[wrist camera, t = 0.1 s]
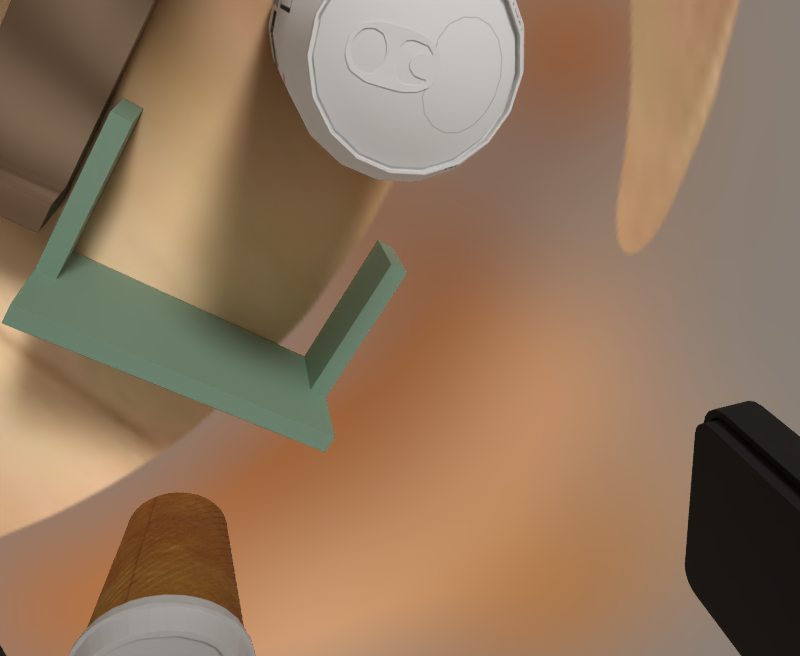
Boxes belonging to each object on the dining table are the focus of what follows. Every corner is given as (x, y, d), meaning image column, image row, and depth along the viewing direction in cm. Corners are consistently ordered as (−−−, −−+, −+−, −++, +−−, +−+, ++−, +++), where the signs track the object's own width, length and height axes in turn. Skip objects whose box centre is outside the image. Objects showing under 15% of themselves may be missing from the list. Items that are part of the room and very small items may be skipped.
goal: (123, 97, 34) (94, 127, 27) (392, 247, 41) (424, 303, 34) (46, 258, 37) (1, 323, 30) (310, 375, 43) (324, 452, 36)
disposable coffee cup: (248, 580, 49) (251, 742, 39) (103, 587, 47) (64, 762, 37) (255, 470, 46) (260, 617, 35) (97, 472, 43) (52, 630, 33)
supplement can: (449, -30, 35) (577, -37, 22) (405, 134, 38) (493, 215, 25) (287, -84, 33) (322, -128, 19) (254, 96, 36) (264, 164, 22)
